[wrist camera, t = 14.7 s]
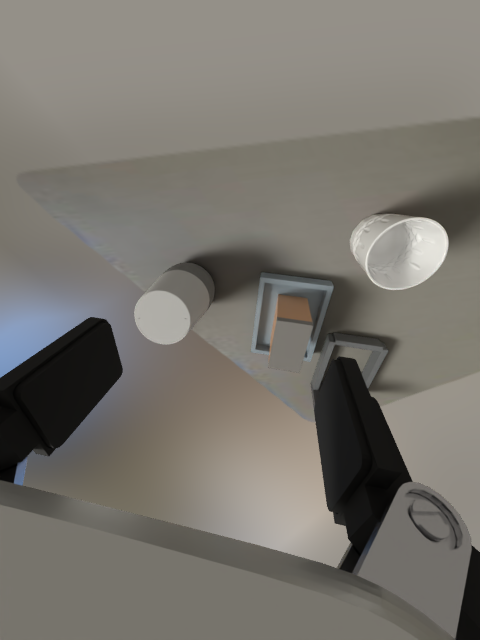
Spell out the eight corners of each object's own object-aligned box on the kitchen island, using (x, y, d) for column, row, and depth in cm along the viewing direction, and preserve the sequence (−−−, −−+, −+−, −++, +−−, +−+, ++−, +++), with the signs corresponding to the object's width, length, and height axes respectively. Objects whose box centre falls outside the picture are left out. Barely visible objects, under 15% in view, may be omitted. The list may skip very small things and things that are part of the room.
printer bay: (384, 339, 41) (410, 379, 33) (357, 392, 48) (373, 435, 40) (328, 331, 42) (339, 368, 34) (310, 383, 49) (316, 424, 41)
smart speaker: (214, 257, 39) (183, 289, 27) (221, 305, 43) (198, 351, 31) (163, 259, 40) (114, 290, 28) (175, 305, 45) (137, 349, 33)
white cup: (356, 205, 31) (383, 212, 23) (415, 212, 31) (466, 222, 22) (338, 260, 35) (355, 284, 27) (390, 268, 35) (424, 294, 26)
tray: (331, 280, 37) (333, 286, 35) (309, 353, 45) (310, 361, 43) (261, 272, 38) (260, 277, 36) (252, 344, 47) (250, 352, 44)
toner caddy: (307, 298, 39) (313, 325, 31) (296, 340, 43) (299, 373, 36) (278, 294, 39) (276, 320, 32) (270, 336, 44) (268, 367, 36)
